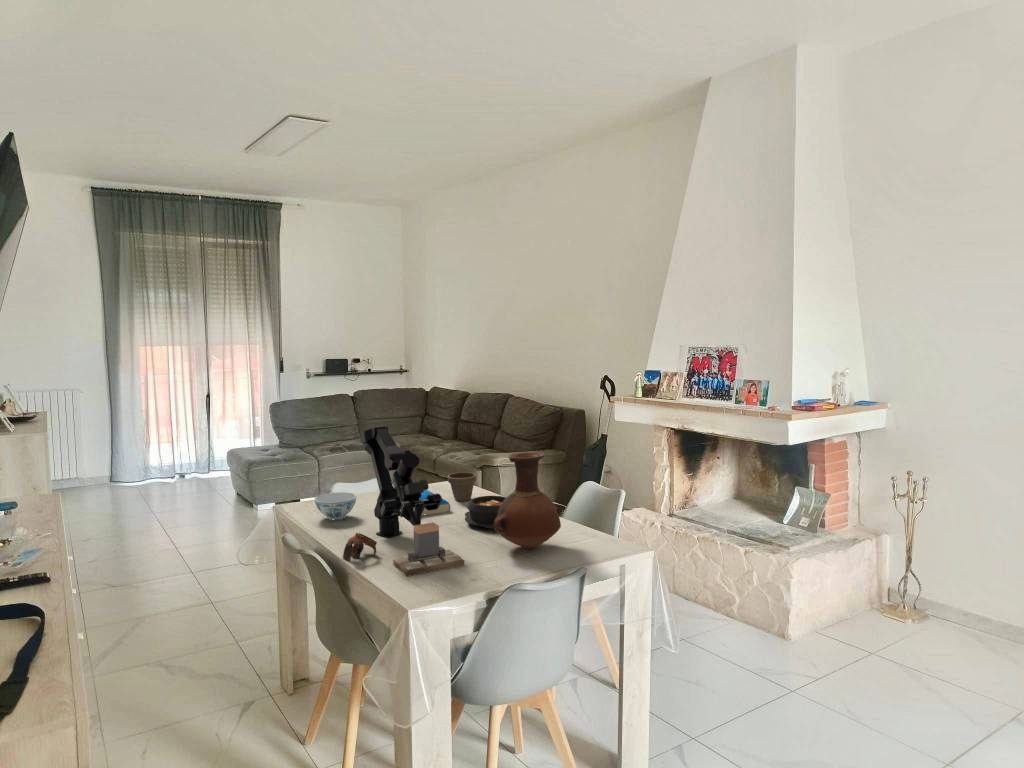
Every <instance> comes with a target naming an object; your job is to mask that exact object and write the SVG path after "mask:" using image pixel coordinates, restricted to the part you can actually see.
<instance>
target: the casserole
mask: <svg viewBox="0 0 1024 768" xmlns="http://www.w3.org/2000/svg"><path fill="white" fill-rule="evenodd" d="M506 497H507V496H501V495H484V496H483V495H482V496H477V497H474V498H471V499H470V500H469V502H468V505H467V506H466V509H467V510H468V511H467V512H465V513H464V516H465V517H464V520H465V522H466V523H467V524H470V525H471V526H472V525H473V526H476V527H480V528H484V527H485V528H487V529H491V530H495V529H494V520H495V519H496V518H497V515H498V511H499V508H500V506H501V504H502V502H503V501H504V500H505V498H506Z"/></svg>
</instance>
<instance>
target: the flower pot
mask: <svg viewBox="0 0 1024 768" xmlns="http://www.w3.org/2000/svg"><path fill="white" fill-rule="evenodd" d="M447 482H448V483H450V487H451V491H452V495H453V498H454V500H455V501H457V500H459V501H458V502H467V501H466V500H468V501H470V500H471V499H472V496H473V490H474V484H475V482H477V474H476V473H474V472H469V471H462V472H461V471H460V472H454V473H450V474H448V475H447Z"/></svg>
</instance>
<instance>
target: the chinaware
mask: <svg viewBox="0 0 1024 768" xmlns="http://www.w3.org/2000/svg"><path fill="white" fill-rule="evenodd" d="M356 501H357V494H355V493H353V492H347V491H346V492H345V491H344V492H343V491H340V492H339V491H337V492H335V491H334V492H328V493H324V494H320V495H317V496H316V497H314V504H315V506H316V508H317V510H318V511H319V512H320V513H321V514H322V515H323V516H325V517H326V519H327V518H328V519H341V520H343V519H342V518H344V519H346V516H347V515H348V514H349V513H350V512H351V511H352V510H353V509H354V506H355V504H356ZM328 519H327V520H328Z"/></svg>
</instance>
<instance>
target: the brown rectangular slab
mask: <svg viewBox="0 0 1024 768" xmlns="http://www.w3.org/2000/svg"><path fill="white" fill-rule="evenodd" d="M392 562H393V566H394V565H395V566H394V567H395V568H397V570H399V571H400V572H401V573H402V572H403V573H404V574H405V575H404V574H403V573H402V574H403V575H404V576H406V577H410V576H409V575H411V576H415V575H414V574H416V575H421V574H424V572H426V573H431V572H430V571H432V572H436V570H437V571H440V570H439V569H442V570H446V568H447V569H451V567H452V568H456V567H462V566H465V559H463V558H462V557H461V556H460V555H459V554H457V553H455V552H454V551H452V550H450V549H445V548H444V547H442V546H439V555H437V556H432V557H426V558H421V559H417V554H416V553H414V551H409V552H407V556H406V557H401V558H397V559H396V558H395V559H393V560H392ZM420 573H421V574H420Z"/></svg>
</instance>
